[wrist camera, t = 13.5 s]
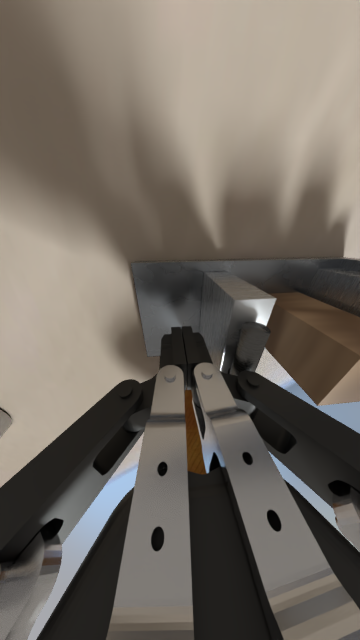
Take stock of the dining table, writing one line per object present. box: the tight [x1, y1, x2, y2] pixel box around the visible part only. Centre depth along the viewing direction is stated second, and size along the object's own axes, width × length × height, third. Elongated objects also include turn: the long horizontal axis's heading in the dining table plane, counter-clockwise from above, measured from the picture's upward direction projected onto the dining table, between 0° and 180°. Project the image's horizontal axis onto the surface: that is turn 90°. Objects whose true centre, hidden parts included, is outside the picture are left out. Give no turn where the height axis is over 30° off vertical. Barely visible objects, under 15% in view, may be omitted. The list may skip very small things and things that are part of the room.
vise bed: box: [131, 257, 360, 357], centre depth 12 cm, size 19×10×7 cm, turn 90°
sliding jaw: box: [199, 272, 276, 376], centre depth 11 cm, size 2×8×7 cm, turn 0°
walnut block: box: [265, 292, 360, 406], centre depth 11 cm, size 4×4×8 cm
